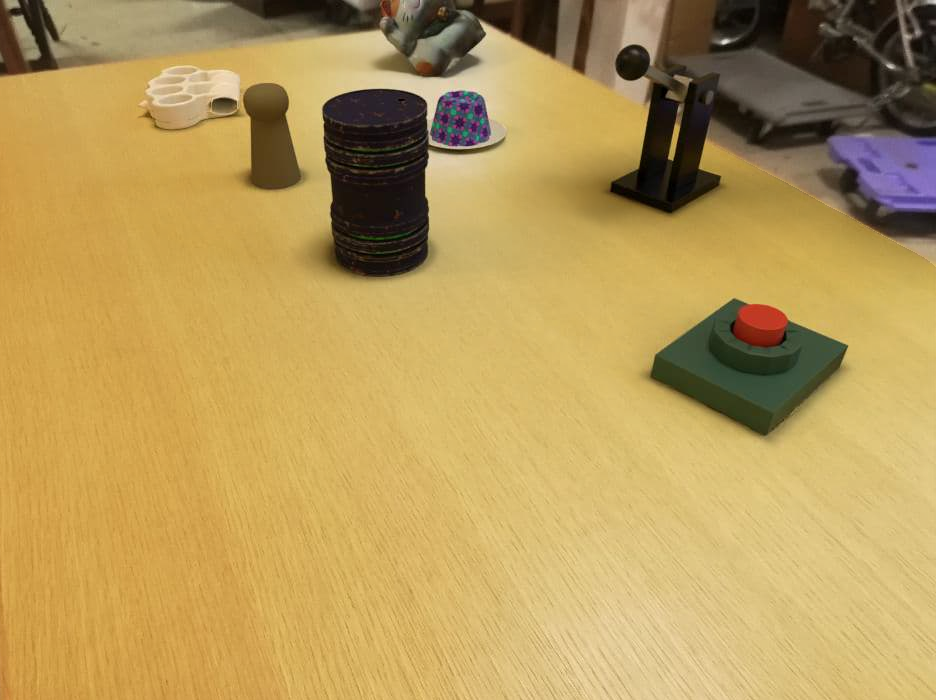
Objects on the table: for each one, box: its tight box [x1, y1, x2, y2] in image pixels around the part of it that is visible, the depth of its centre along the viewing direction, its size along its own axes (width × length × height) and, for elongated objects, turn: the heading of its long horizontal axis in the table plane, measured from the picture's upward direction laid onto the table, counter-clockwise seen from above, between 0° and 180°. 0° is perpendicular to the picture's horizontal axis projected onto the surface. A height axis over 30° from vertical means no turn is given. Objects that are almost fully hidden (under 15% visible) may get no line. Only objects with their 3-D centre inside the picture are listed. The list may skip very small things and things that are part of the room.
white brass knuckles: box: [137, 65, 242, 130], centre depth 115 cm, size 3×18×15 cm
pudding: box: [427, 89, 507, 150], centre depth 103 cm, size 12×12×5 cm
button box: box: [650, 297, 849, 436], centre depth 63 cm, size 12×10×4 cm
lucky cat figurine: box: [379, 0, 487, 77], centre depth 125 cm, size 15×12×14 cm
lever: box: [614, 43, 695, 106], centre depth 79 cm, size 15×3×3 cm, turn 132°
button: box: [733, 303, 789, 348], centre depth 61 cm, size 4×4×2 cm
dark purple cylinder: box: [321, 88, 430, 277], centre depth 76 cm, size 10×10×15 cm
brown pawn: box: [242, 82, 302, 190], centre depth 92 cm, size 6×6×11 cm
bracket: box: [609, 63, 722, 214], centre depth 86 cm, size 10×8×13 cm
